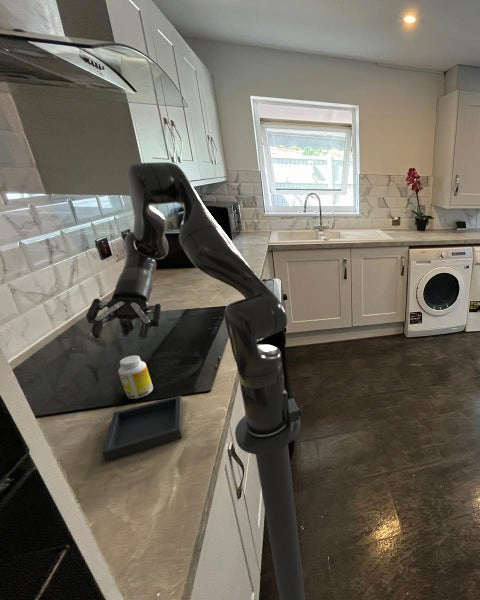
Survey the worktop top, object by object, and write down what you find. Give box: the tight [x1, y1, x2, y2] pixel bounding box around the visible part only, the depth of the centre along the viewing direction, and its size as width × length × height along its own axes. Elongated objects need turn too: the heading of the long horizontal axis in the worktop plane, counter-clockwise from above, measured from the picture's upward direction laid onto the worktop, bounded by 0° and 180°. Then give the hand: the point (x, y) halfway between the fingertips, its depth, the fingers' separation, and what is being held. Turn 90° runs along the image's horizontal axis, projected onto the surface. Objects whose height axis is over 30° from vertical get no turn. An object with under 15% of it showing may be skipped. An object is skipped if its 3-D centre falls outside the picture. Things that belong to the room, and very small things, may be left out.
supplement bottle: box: [117, 355, 154, 400], centre depth 82 cm, size 6×6×10 cm
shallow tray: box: [101, 395, 184, 463], centre depth 73 cm, size 13×13×2 cm
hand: (119, 337), depth 79 cm, fingers open, 8 cm apart
